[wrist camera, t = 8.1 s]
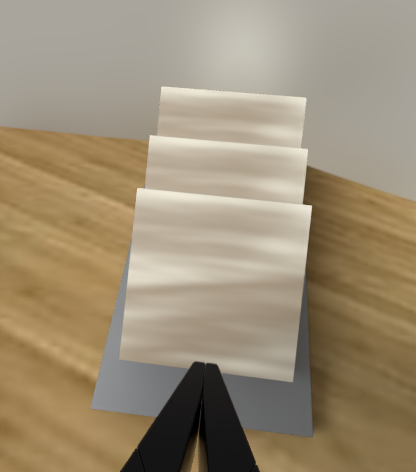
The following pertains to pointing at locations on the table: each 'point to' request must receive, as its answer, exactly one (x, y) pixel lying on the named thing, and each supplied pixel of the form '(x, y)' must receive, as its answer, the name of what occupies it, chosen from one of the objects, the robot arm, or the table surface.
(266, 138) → the domino
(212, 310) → the domino
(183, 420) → the robot arm
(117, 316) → the board
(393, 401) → the table surface
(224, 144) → the domino
